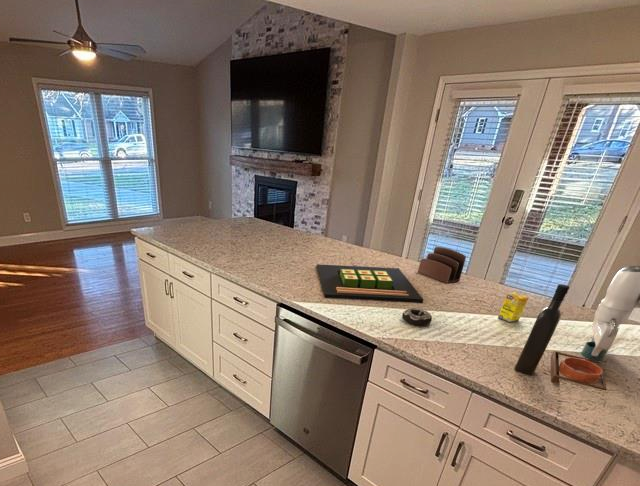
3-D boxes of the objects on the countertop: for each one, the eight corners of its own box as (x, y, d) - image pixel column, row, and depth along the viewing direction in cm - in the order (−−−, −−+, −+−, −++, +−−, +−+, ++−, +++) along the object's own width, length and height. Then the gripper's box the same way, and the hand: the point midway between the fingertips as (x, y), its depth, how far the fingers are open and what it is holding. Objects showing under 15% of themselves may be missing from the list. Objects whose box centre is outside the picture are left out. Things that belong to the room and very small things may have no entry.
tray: (597, 368, 144) (600, 362, 143) (602, 395, 130) (606, 389, 128) (550, 356, 150) (553, 350, 149) (550, 381, 135) (554, 375, 134)
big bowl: (593, 376, 139) (601, 363, 137) (596, 391, 131) (604, 378, 128) (555, 366, 144) (562, 354, 141) (556, 381, 136) (562, 368, 133)
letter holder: (429, 270, 231) (436, 244, 223) (459, 281, 217) (468, 254, 209) (417, 272, 227) (423, 246, 219) (447, 283, 213) (455, 256, 205)
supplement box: (497, 318, 178) (506, 293, 172) (506, 315, 180) (515, 292, 174) (509, 323, 173) (519, 299, 167) (518, 321, 176) (529, 296, 170)
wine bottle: (535, 370, 141) (576, 286, 125) (531, 376, 138) (573, 290, 121) (517, 364, 144) (555, 281, 128) (513, 370, 141) (551, 285, 124)
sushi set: (324, 297, 190) (325, 288, 187) (316, 267, 227) (317, 259, 225) (422, 302, 189) (424, 293, 187) (397, 271, 227) (399, 263, 225)
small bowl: (601, 355, 149) (607, 344, 146) (603, 363, 144) (609, 352, 141) (580, 351, 152) (585, 340, 149) (581, 358, 147) (586, 347, 144)
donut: (432, 329, 166) (435, 319, 164) (402, 325, 168) (404, 316, 166) (428, 317, 176) (430, 308, 173) (400, 314, 177) (402, 305, 175)
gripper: (628, 327, 130) (606, 365, 138) (620, 306, 145) (601, 342, 153) (604, 322, 133) (584, 360, 140) (598, 303, 148) (580, 337, 155)
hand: (593, 350), depth 147 cm, fingers closed on small bowl, 6 cm apart
